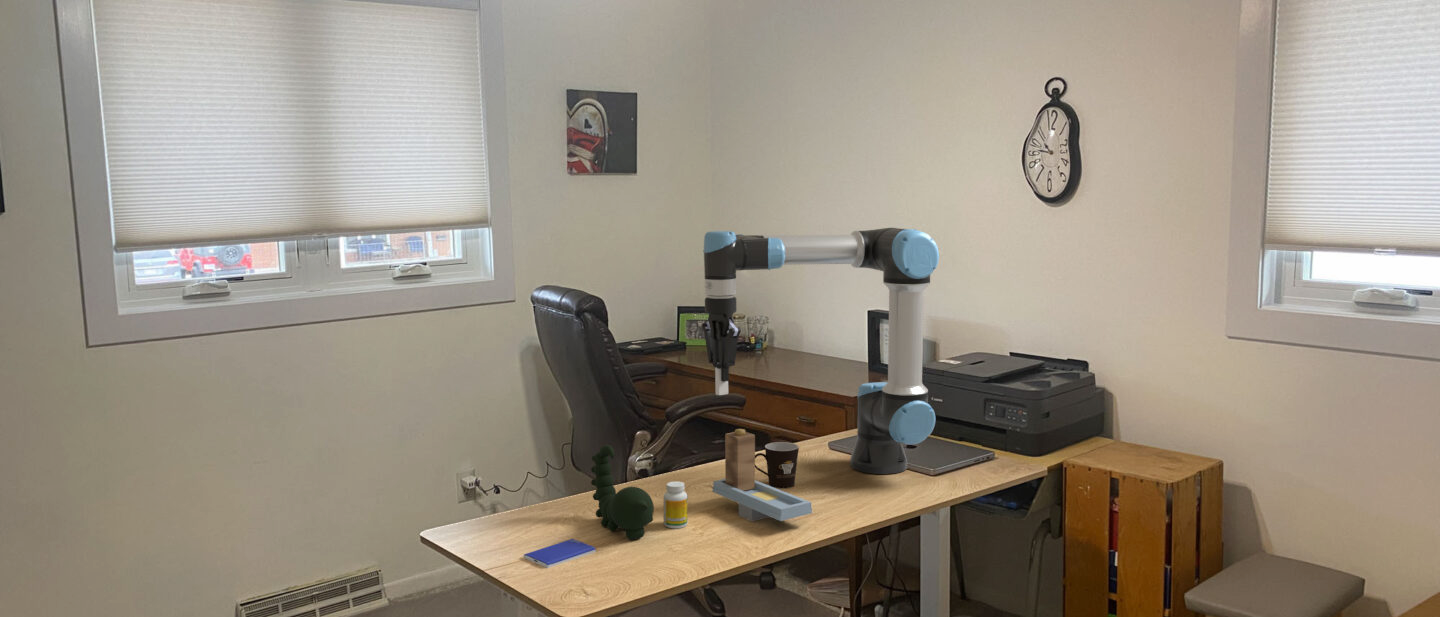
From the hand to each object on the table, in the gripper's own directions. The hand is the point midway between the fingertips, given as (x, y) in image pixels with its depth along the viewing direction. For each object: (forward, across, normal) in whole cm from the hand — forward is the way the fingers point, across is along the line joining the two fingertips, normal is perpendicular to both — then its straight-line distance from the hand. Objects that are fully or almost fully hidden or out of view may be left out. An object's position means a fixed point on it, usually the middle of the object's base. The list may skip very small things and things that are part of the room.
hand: (722, 394), depth 247 cm
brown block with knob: (+22, +6, +1) cm, 23 cm away
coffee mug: (+27, -2, +18) cm, 32 cm away
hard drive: (+27, +10, -49) cm, 57 cm away
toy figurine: (+26, +4, -31) cm, 41 cm away
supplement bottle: (+26, +8, -19) cm, 34 cm away
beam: (+26, +14, +1) cm, 30 cm away
